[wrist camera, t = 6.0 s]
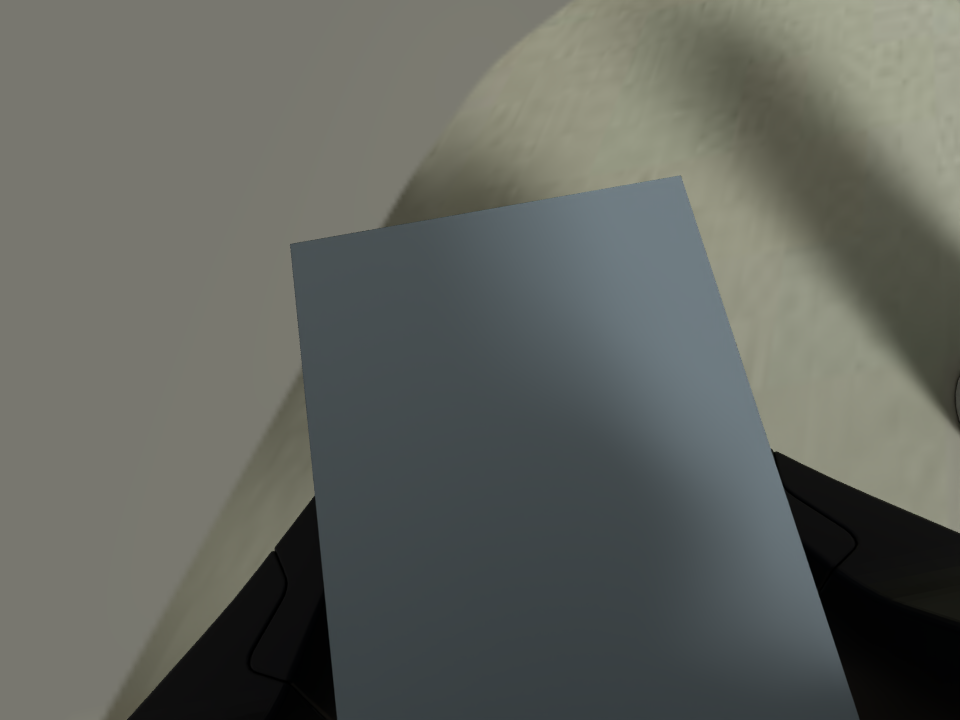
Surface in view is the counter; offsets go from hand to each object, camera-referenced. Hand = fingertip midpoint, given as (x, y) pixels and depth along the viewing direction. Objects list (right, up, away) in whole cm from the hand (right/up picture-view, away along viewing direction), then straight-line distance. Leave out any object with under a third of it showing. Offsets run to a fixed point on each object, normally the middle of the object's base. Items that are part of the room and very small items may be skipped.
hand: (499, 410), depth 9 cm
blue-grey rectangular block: (0, -3, +6) cm, 7 cm away
